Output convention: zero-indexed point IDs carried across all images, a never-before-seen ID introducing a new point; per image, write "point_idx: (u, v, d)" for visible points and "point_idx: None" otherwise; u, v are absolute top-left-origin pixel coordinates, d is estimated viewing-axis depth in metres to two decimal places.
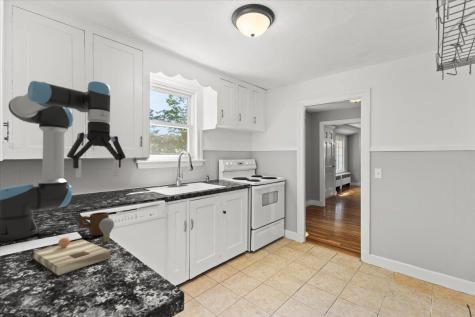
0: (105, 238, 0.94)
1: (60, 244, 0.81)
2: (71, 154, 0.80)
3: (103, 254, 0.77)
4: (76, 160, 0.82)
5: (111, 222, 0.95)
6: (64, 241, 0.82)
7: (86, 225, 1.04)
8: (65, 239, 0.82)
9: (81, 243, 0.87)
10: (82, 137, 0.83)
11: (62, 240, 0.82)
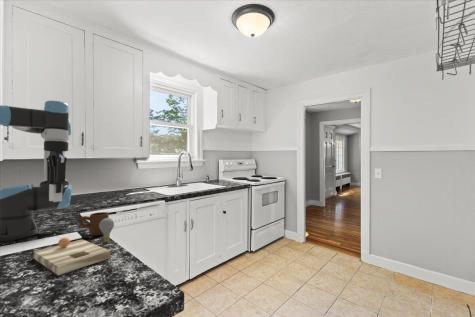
0: (105, 238, 0.94)
1: (60, 244, 0.81)
2: (47, 179, 0.90)
3: (103, 254, 0.77)
4: None
5: (111, 222, 0.95)
6: (64, 241, 0.82)
7: (86, 225, 1.04)
8: (65, 239, 0.82)
9: (81, 243, 0.87)
10: (47, 161, 0.91)
11: (62, 240, 0.82)
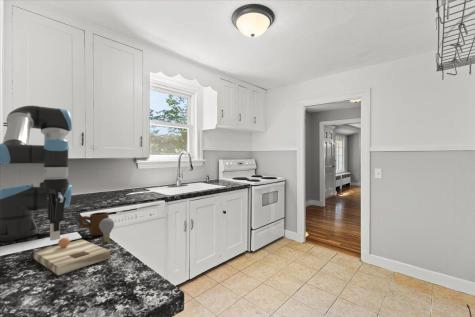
0: (105, 238, 0.94)
1: (60, 244, 0.81)
2: (48, 217, 0.89)
3: (103, 254, 0.77)
4: None
5: (111, 222, 0.95)
6: (64, 241, 0.82)
7: (86, 225, 1.04)
8: (65, 239, 0.82)
9: (81, 243, 0.87)
10: (47, 199, 0.90)
11: (62, 240, 0.82)
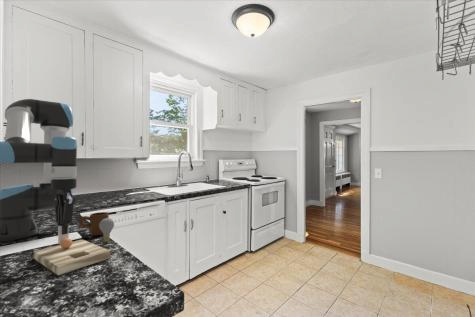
0: (105, 238, 0.94)
1: (61, 246, 0.81)
2: None
3: (103, 254, 0.77)
4: None
5: (111, 222, 0.95)
6: (66, 247, 0.81)
7: (86, 225, 1.04)
8: (68, 245, 0.81)
9: (81, 243, 0.87)
10: (54, 200, 0.86)
11: (65, 246, 0.80)
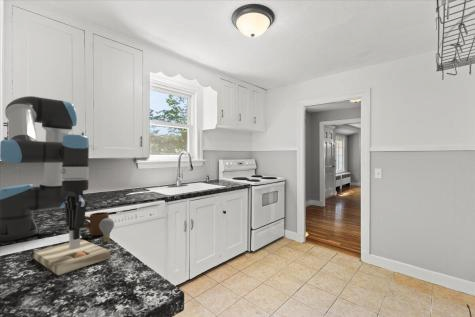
0: (105, 238, 0.94)
1: None
2: (66, 223, 0.79)
3: (103, 254, 0.77)
4: None
5: (111, 222, 0.95)
6: None
7: (86, 225, 1.04)
8: None
9: (81, 243, 0.87)
10: (65, 202, 0.80)
11: None
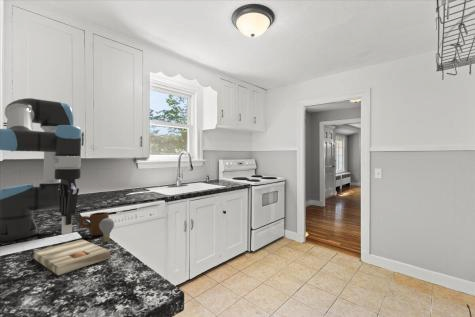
0: (105, 238, 0.94)
1: None
2: (59, 209, 0.83)
3: (103, 254, 0.77)
4: None
5: (111, 222, 0.95)
6: None
7: (86, 225, 1.04)
8: None
9: (81, 243, 0.87)
10: (58, 190, 0.84)
11: None
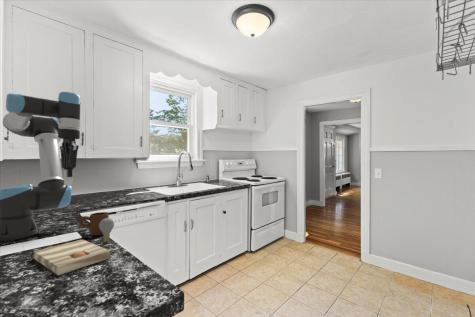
0: (105, 238, 0.94)
1: None
2: (62, 165, 0.97)
3: (103, 254, 0.77)
4: None
5: (111, 222, 0.95)
6: None
7: (86, 225, 1.04)
8: None
9: (81, 243, 0.87)
10: (61, 149, 0.98)
11: None
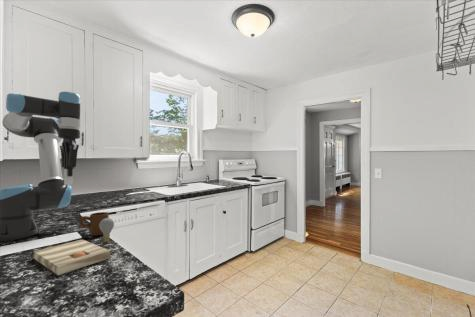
0: (105, 238, 0.94)
1: None
2: (62, 165, 0.97)
3: (103, 254, 0.77)
4: None
5: (111, 222, 0.95)
6: None
7: (86, 225, 1.04)
8: None
9: (81, 243, 0.87)
10: (61, 148, 0.99)
11: None
